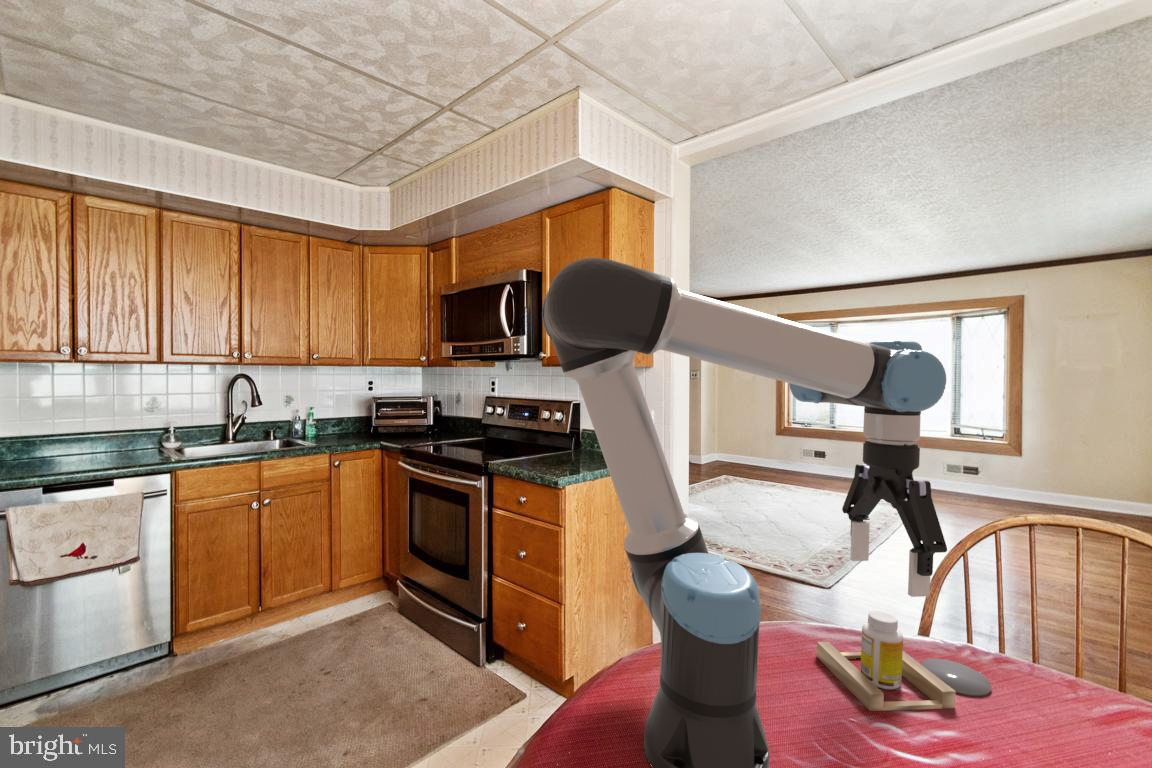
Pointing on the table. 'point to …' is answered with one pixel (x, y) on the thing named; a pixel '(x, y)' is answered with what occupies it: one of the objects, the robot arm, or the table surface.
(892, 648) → the supplement bottle
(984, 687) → the coaster
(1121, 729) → the table surface
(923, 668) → the open wooden frame
